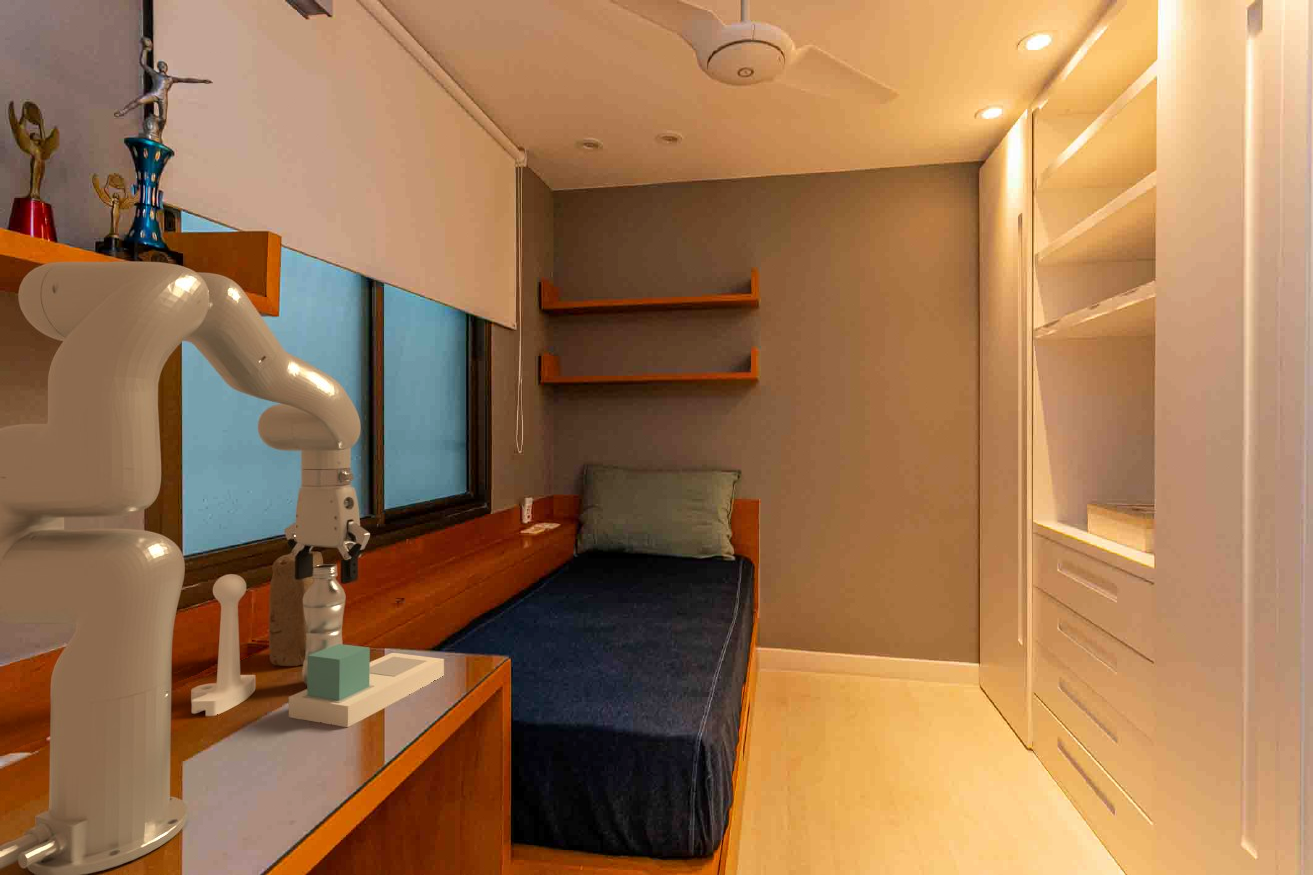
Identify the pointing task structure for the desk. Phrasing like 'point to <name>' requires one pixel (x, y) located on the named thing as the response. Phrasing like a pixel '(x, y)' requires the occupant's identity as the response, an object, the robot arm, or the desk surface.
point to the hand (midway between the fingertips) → (326, 580)
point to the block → (288, 612)
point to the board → (371, 690)
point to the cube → (338, 671)
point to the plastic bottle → (323, 612)
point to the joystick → (226, 655)
